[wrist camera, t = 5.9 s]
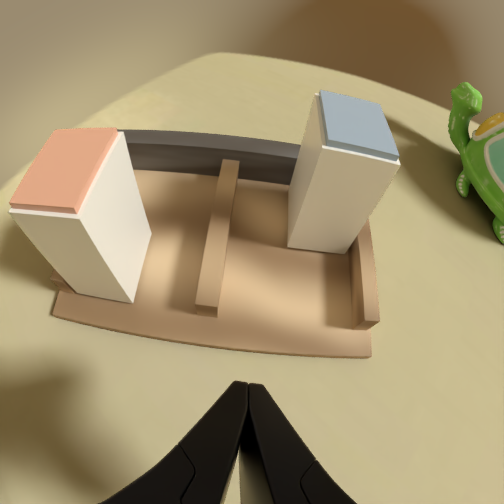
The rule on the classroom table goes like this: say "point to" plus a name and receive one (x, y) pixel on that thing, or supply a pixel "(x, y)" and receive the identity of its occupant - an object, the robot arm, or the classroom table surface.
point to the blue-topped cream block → (339, 172)
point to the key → (86, 212)
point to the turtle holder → (479, 152)
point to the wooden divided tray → (232, 256)
